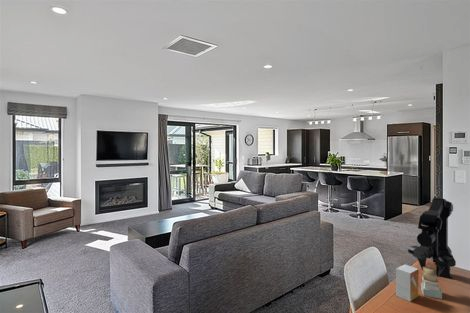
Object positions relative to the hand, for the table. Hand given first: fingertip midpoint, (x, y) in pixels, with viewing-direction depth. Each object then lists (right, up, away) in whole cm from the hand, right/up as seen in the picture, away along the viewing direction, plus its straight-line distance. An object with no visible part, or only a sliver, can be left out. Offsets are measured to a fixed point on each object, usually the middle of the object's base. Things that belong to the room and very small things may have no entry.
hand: (430, 273), depth 128 cm
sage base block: (0, -10, 0) cm, 10 cm away
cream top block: (0, -6, 0) cm, 6 cm away
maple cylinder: (0, -3, 0) cm, 3 cm away
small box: (-12, -10, -2) cm, 16 cm away
